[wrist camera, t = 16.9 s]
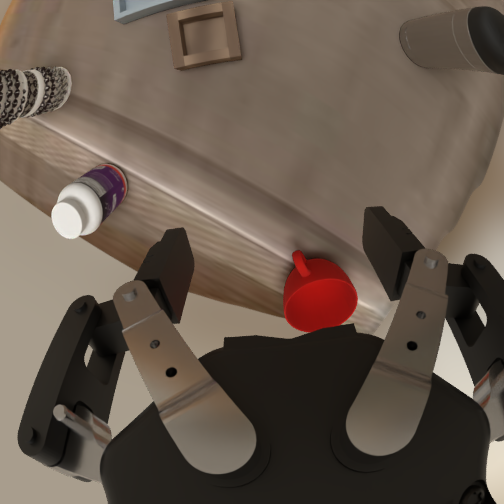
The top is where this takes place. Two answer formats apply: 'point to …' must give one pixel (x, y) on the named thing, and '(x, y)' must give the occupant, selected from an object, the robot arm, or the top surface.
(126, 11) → the tray
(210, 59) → the square wooden frame
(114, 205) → the pill bottle
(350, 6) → the top surface
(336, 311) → the ceramic cup
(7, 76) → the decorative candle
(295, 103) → the top surface
